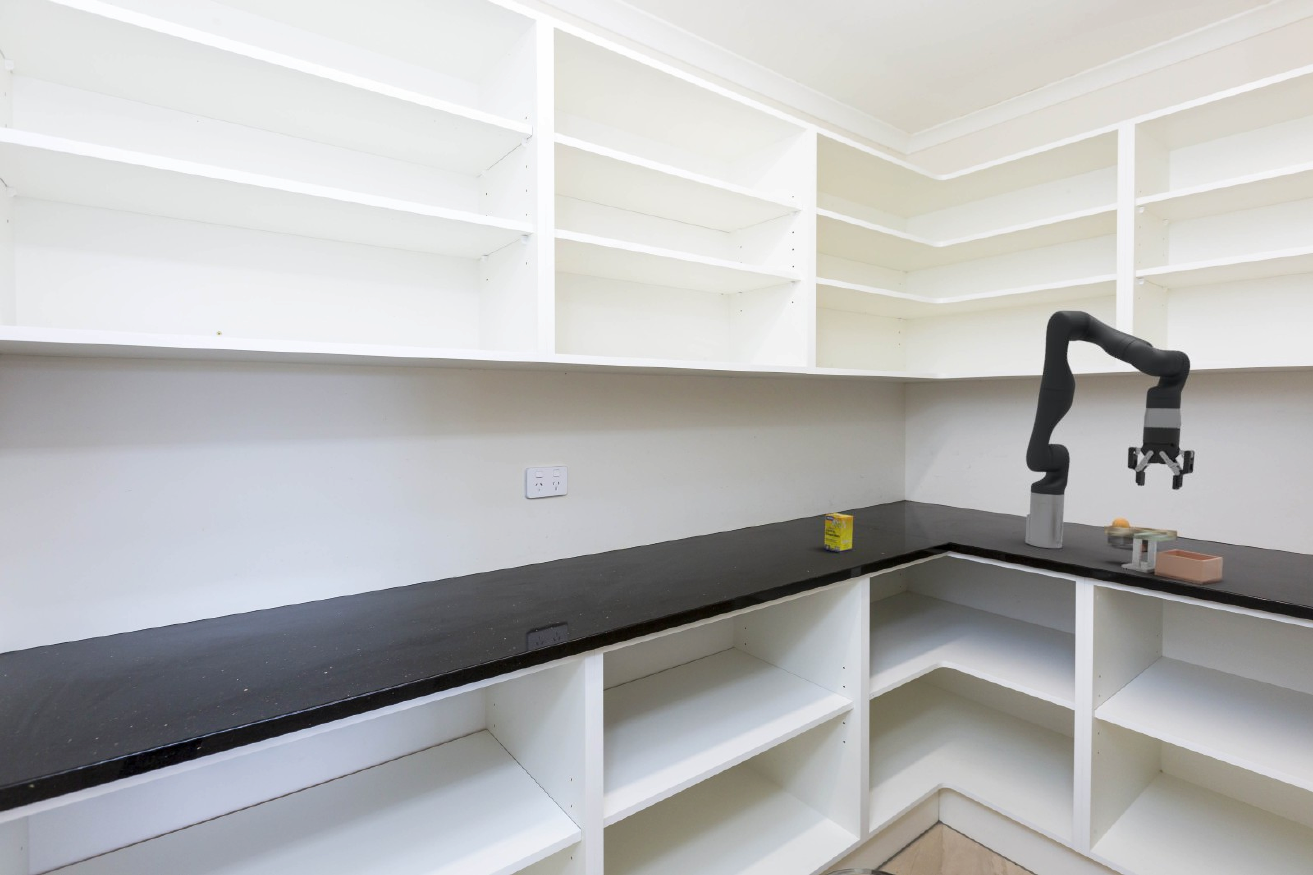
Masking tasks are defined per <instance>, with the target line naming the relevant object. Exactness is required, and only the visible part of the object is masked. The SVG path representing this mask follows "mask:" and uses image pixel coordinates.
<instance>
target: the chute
mask: <svg viewBox="0 0 1313 875" xmlns="http://www.w3.org/2000/svg"><path fill="white" fill-rule="evenodd" d="M1103 528H1104V530H1103V533H1104V535H1105V536H1107V544H1111V545H1118V546H1122V545H1123V546H1127V545H1128V546H1129V545H1133V534H1134V539H1141V540H1150V541H1157V542H1171V541H1176V540H1178V531H1177V530H1173V529H1163V528H1152V527H1144V526H1143V527H1141V526H1133V525H1132V526H1131V525H1130V527H1129V528H1119V527H1113V526H1112V524H1111V525H1104V527H1103ZM1135 533H1137V534H1135Z"/></svg>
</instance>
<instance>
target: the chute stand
mask: <svg viewBox="0 0 1313 875" xmlns="http://www.w3.org/2000/svg"><path fill="white" fill-rule="evenodd" d="M1135 534H1137V533H1135ZM1157 543H1158V541H1150V540H1148V551H1147V556H1146V557H1147V559H1146V560H1147V561H1142V552H1143V551H1142V540H1141V539H1134V534H1133V544H1132V560H1131V562H1130V563H1124V564H1121V568H1123V569H1126V568H1127V569H1128V570H1131V571H1137V572H1140V573H1145V574H1146V573H1147V574H1148V573H1153V572H1154V573H1155V561H1156V553H1157V549H1158V548H1157V545H1158V544H1157ZM1141 551H1142V552H1141Z"/></svg>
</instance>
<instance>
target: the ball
mask: <svg viewBox="0 0 1313 875" xmlns="http://www.w3.org/2000/svg"><path fill="white" fill-rule="evenodd" d="M1111 525H1112V526H1113V527H1119V528H1129V527H1130V526H1131V524H1130V522H1129V521H1128V520H1127V519H1125V518H1120V517H1118V518H1116V519H1113V522H1112V524H1111Z"/></svg>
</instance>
